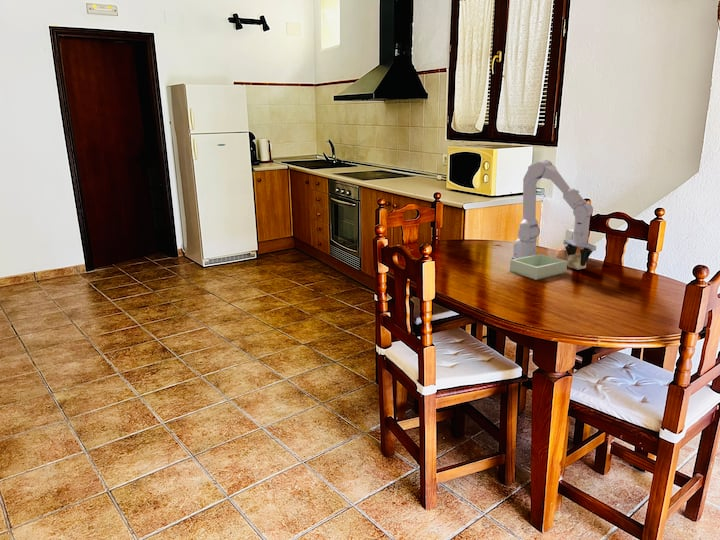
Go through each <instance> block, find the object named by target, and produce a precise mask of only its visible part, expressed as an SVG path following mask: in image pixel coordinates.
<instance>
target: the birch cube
mask: <svg viewBox="0 0 720 540" xmlns="http://www.w3.org/2000/svg"><path fill="white" fill-rule="evenodd" d="M567 268H571V269H574V270H582V269H586V268H587V263H586V264H585V266H581V255H580V254H573V255H569V259H568V264H567Z"/></svg>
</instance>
